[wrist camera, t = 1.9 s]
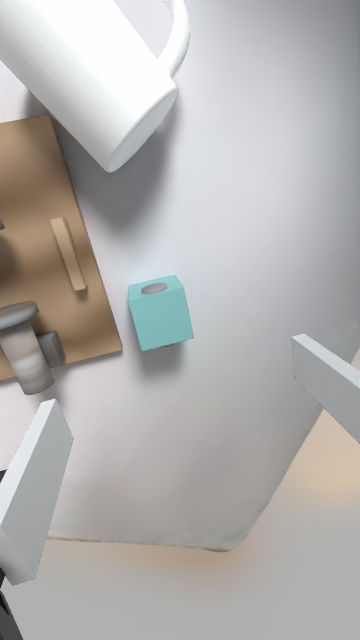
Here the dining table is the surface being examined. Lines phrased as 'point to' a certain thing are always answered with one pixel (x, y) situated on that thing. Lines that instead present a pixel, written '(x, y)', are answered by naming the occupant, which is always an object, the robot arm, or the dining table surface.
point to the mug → (94, 70)
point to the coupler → (160, 312)
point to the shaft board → (45, 262)
